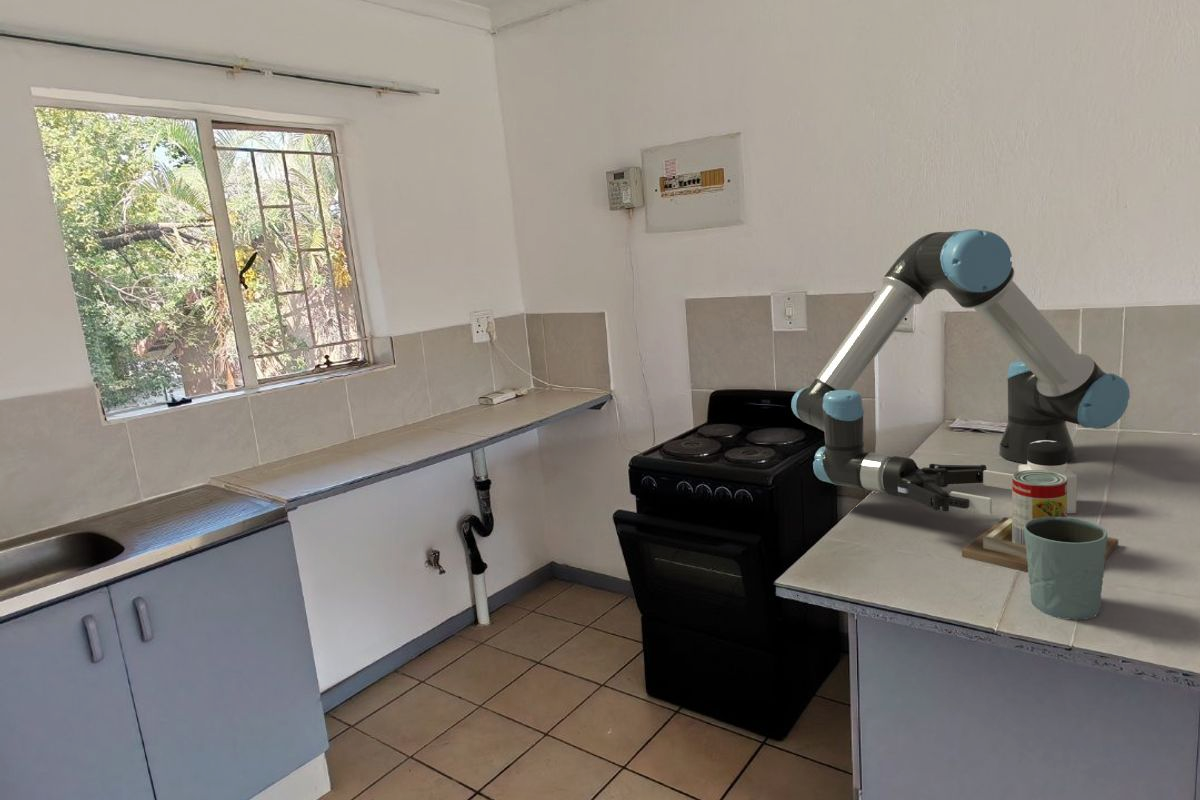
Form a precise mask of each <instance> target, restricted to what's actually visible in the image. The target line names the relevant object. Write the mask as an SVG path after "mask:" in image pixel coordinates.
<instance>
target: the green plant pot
mask: <svg viewBox="0 0 1200 800" xmlns="http://www.w3.org/2000/svg"><path fill="white" fill-rule="evenodd" d="M1024 536H1025V543H1026V551H1027V562H1028V572H1027V573H1028V578H1029V579H1028V582H1029V584H1030V587H1029V588H1030V589H1029V592H1030V593H1029V595H1030V602H1031V604H1032V606H1033V605H1034V606H1035V607H1036V608H1037V609H1036V608H1035V607H1034V606H1033V607H1034V608H1035V609H1036V610H1038V609H1039V610H1040V611H1039V610H1038V611H1039V612H1041V611H1042V612H1041V613H1043V612H1044V613H1043V614H1045V613H1046V615H1047V614H1048V616H1050V615H1051V617H1054V618H1057V617H1060V618H1059V619H1062V618H1069V619H1068V620H1070V619H1082V620H1086V619H1085V618H1088V619H1092V618H1091V617H1093V618H1095V617H1096V616H1097V615H1099V613H1100V610H1101V604H1102V590H1103V584H1104V583H1103V578H1104V570H1105V561H1106V559H1104V555H1105V552H1106V543H1107V537H1108V531H1107V530H1106V529H1105V528H1104V527H1103V526H1101V525H1100V524H1097V523H1095V522H1093V521H1088V520H1084V519H1080V518H1077V517H1076V518H1075V517H1069V516H1067V517H1042V518H1036V519H1033V520H1030V521H1028V522H1027V523H1026V524H1025V525H1024ZM1095 615H1096V616H1095ZM1094 616H1095V617H1094Z"/></svg>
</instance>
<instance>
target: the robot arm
mask: <svg viewBox="0 0 1200 800" xmlns="http://www.w3.org/2000/svg"><path fill="white" fill-rule="evenodd" d="M1012 257H1013V254H1012V252H1011V249H1010V246H1009V245H1008V243H1007V242H1006V241H1005V239H1004V238H1002V237H1001V236H1000V235H998V234H997V233H995V232H992V231H989V230H982V229H977V228H976V229H975V228H974V229H972V228H971V229H970V228H969V229H965V230H956V231H936V232H931V233H928V234H925V235H923V236H921V237H920V238H917V240H915V241H914V242H912V243H911V245H909V246H908V247H907V248H906V249H905V250H904V251H903V252H902V253H901V255H900V256H898V258H897V259H896V260H895V262H894V263H893V264H892V265H891V267H890V268H889V270H888V271H887V272H886V273H885V275H884V276H883V278H882V279H881V281H882V287H881V288H880V289H879V291H878V293H877V294H876V296H875V297H874V298H873V299H872V301H871V302H870V304H869V305H868V306H867V307H866V309H865V311H864V312H863V313H862V315H860V317H859V319H858V320H857V322H856V323H855V324H854V326H853V327H852V329H850V331H849V333H847V335H846V336H845V338H844V339H843V341H842V342H841V343H840V344H839V346H838V348H837V349H836V350H835V351H834V353H833V354H832V355H831V357H830V358H829V359H828V360H827V362H826V364H825V365H824V366H823V368H822V369H821V371H820V372H819V374H817V376H816V378H814V380H813V382H812V383H811V384H810V385H809V386H808V387H802V388H800V389H799V390H797V391H796V392H795V393H794V395H793V396H792V398H791V403H790V404H791V407H790V408H791V411H792V412H793V415H795V416H796V418H798V419H800V420H801V421H802V422H803V423H805V424H808V425H810V426H812V427H815V428H817V429H818V430H821V431H822V432H824V446H821V447H820V448H818V450H816V452H815V455H814V461H813V462H812V466H813V467H812V468H813V473H814V475H815V476H816V478H818V480H820V481H822V482H826V483H829V484H834V485H835V486H845V487H849V488H854V489H855V488H856V489H862V490H866V491H871V492H874V494H877V495H878V494H880V493H883V494H888V495H890V496H896V497H903V498H906V499H907V498H908V499H910V500H912V501H914V502H917V503H918V504H921V505H923V506H925V507H927V508H929V509H932V510H934V511H940V510H941V512H944V513H948V512H950V508H953V509H959V510H964V511H968V512H973V513H979V514H984V515H991V514H992V509H993V508H992V505H993V504H992V503H993V501H992V500H993V498H992V497H988V496H982V495H976V494H970V493H964V492H960V491H959V492H958V491H953V490H952V491H950V493H949V492H947V491H946V490H945V489H943V488H947V487H948V486H949V485H962V484H981V483H982V484H983V486H986V487H987V486H988V487H991V488H992V487H994V488H998V489H999V488H1000V489H1006V490H1010V491H1011V490H1012V476H1013V474H1014V473H1006V472H1000V471H994V470H987V465H986V464H980V465H971V464H966V465H965V464H937V463H930V464H929V465H928V467H923V468H919V467H918V465H917V463H916V461H915V460H914V459H913V458H910V457H904V456H896V455H895V456H894V455H890V454H886V453H885V454H884V453H877V452H871V451H866V450H865V445H864V443H865V442H864V412H865V411H864V407H863V397H862V395H861V393H859V392H858V391H856V390H852V389H853V387H854V386H855V385H856V383H857V382H858V381H859V379H860V378H861V377H862V375H863V373H865V371H866V370H867V368H868V367H869V366H870V364H871V363H872V362H873V360H874V359H875V358H876V356H877V355H879V352H881V349H882V348H883V347H884V345H885V344H886V343H887V341H888V340H889V339H890V337H892V335H893V333H894V332H895V331H896V329H897V328H898V327H899V326H900V324H901V323H902V322H903V320H904V319H905V317H906V316H907V314H908V313H909V312H910V311H911V309H912V308H913V306H915V305H920V304H922V303H923V301H924V300H925V298H927V296H928V295H929V294H930V293H932V292H933V291H935V290H944V291H947V292H948V294H949V295H950V296H951V297H952V298H953V299H954V300H955V301H956V302H957V303H958V305H959V306H960V307H962V308H964V309H974V310H975V311H976V312H977V313H978V315H980V317H981V318H983V320H984V322H986V324H987V325H988V326H989V327H990V328H991V329H992V330H993V331H994V332H995V333H996V334H997V336H999V338H1000V339H1001V340H1002V341H1003V342H1004V343H1005V344H1006V345H1007V347H1009V348H1010V350H1011V351H1012V352H1013V353H1014V354H1015V355H1016V356H1017V358H1019V359H1018V360H1015V361H1013V362H1011V363H1010V364H1009V366H1008V371H1007V372H1008V373H1007V377H1006V380H1007V424H1006V427H1005V430H1004V432H1003V435H1002V437H1001V440H1000V442H999V448H998V450H999V456H1000V455H1001V456H1000V457H1002V458H1003V459H1005V460H1008V461H1011V460H1012V462H1015V461H1016V462H1015V463H1020V464H1027V454H1028V445H1029V444H1030V443H1032V442H1035V441H1042V440H1049V441H1056V442H1060V443H1062V444H1064V445H1066V446H1067V448H1068V450H1067V462H1070V461H1072V460H1073V459H1074V458H1075V446H1074V443H1073V441H1072V438H1071V435H1070V433H1069V428H1068V426H1067V423H1071V424H1075V425H1079V426H1081V427H1083V428H1088V429H1089V428H1091V429H1096V430H1100V429H1106V428H1109V427H1111V426H1112V425H1115V424H1116V423H1117V422H1118V421H1119V420H1120V419H1121V418H1122V417H1123V415H1124V414H1125V412H1126V410H1127V408H1128V406H1129V400H1130V395H1131V394H1130V387H1129V385H1128V383H1127V381H1126V380H1125V378H1123V377H1121V376H1119V375H1117V374H1115V373H1107V372H1105V371H1104V370H1102V369H1101V367H1100V366H1099V365H1098V364H1097V363H1096V362H1095V360H1094V359H1093V358H1091V356H1090V355H1088V354H1085V353H1077V352H1076V351H1074V349H1073V348H1072V347H1071V346H1070V345H1069V343H1068V342H1067V341H1066V340H1065V339H1064V338H1063V336H1062V335H1061V334H1060V333H1059V332H1058V331H1057V330H1056V328H1055V327H1054V326H1053V325H1052V324H1051V323H1050V322H1049V320H1048V319H1047V318H1046V317H1045V316H1044V315H1043V314H1042V312H1041V311H1040V310H1039V309H1038V308H1037V307H1036V305H1035V304H1034V303H1032V301H1031V299H1029V298H1028V296H1027V295H1026V294H1025V292H1023V291H1022V290H1021V288H1019V286H1018V285H1017V284H1016V282H1015V281H1014V276H1015V269H1014V267H1013V262H1012V260H1011V258H1012Z"/></svg>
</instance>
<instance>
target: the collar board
mask: <svg viewBox="0 0 1200 800" xmlns="http://www.w3.org/2000/svg"><path fill="white" fill-rule="evenodd" d="M1118 547H1119V538H1113V537H1110V536H1109V537H1108V536H1107V543H1106V552H1105V555H1104V559H1105V560H1107V558H1108V557H1109V556H1110V555H1112V553H1113V552H1114V551H1115V550H1116V549H1117V548H1118ZM961 557H964V558H968V559H971V560H972V559H973V560H977V561H980V562H984V563H989V564H993V565H997V566H1002V567H1005V568H1010V569H1014V570H1018V571H1021V572H1022V571H1023V572H1025V573H1026V572H1027V573H1029V572H1028V562H1027V551H1026V545H1023V544H1018V543H1013V542H1012V516H1011V517H1005V516H1004V517H1002V519H1001V520H999V521H998V522H996V523H995V524H994V525H993V526H991V527H990V528H989V529H987V530H986V531H985V532H983V533H982V534H981V535H979V536H978V537H976V538H975V539H974V540H972V541H971V542H970V543H969V544H968V545H966V546H965V547H963V548H962V549H961Z"/></svg>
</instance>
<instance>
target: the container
mask: <svg viewBox="0 0 1200 800" xmlns="http://www.w3.org/2000/svg"><path fill="white" fill-rule="evenodd" d="M1067 450H1068V448H1067V446H1066V445H1064V444H1062V443H1060V442H1056V441H1049V440H1042V441H1035V442H1032V443H1030V444H1029V445H1028V454H1027V463H1024V464H1018V472H1020V471H1026V470H1044V471H1051V472H1056V473H1060V474H1062V475H1064V476H1066V478H1067V515H1069V514H1076V512H1077V495H1078V494H1077V493H1078V485H1077V484H1078V476H1077V474H1076V473H1074V472H1073V471H1072V470H1070V469H1069V468H1068V461H1067Z"/></svg>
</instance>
